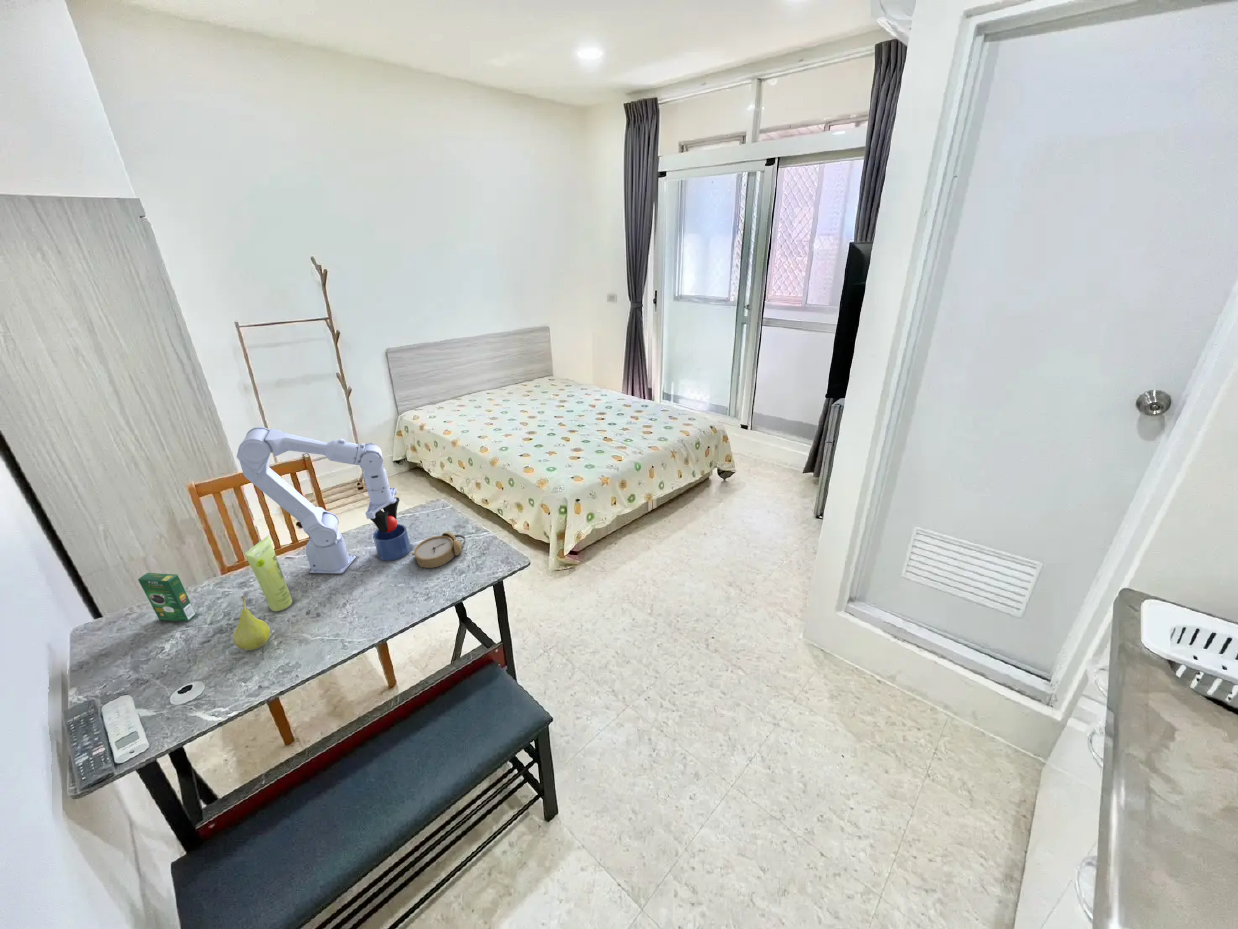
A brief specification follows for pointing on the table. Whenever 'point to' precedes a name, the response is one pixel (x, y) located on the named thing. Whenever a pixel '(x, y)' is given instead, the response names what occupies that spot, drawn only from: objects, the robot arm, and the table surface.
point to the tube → (269, 574)
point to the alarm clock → (438, 550)
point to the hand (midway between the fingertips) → (388, 526)
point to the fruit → (250, 631)
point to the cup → (392, 543)
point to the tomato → (391, 523)
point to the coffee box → (167, 596)
